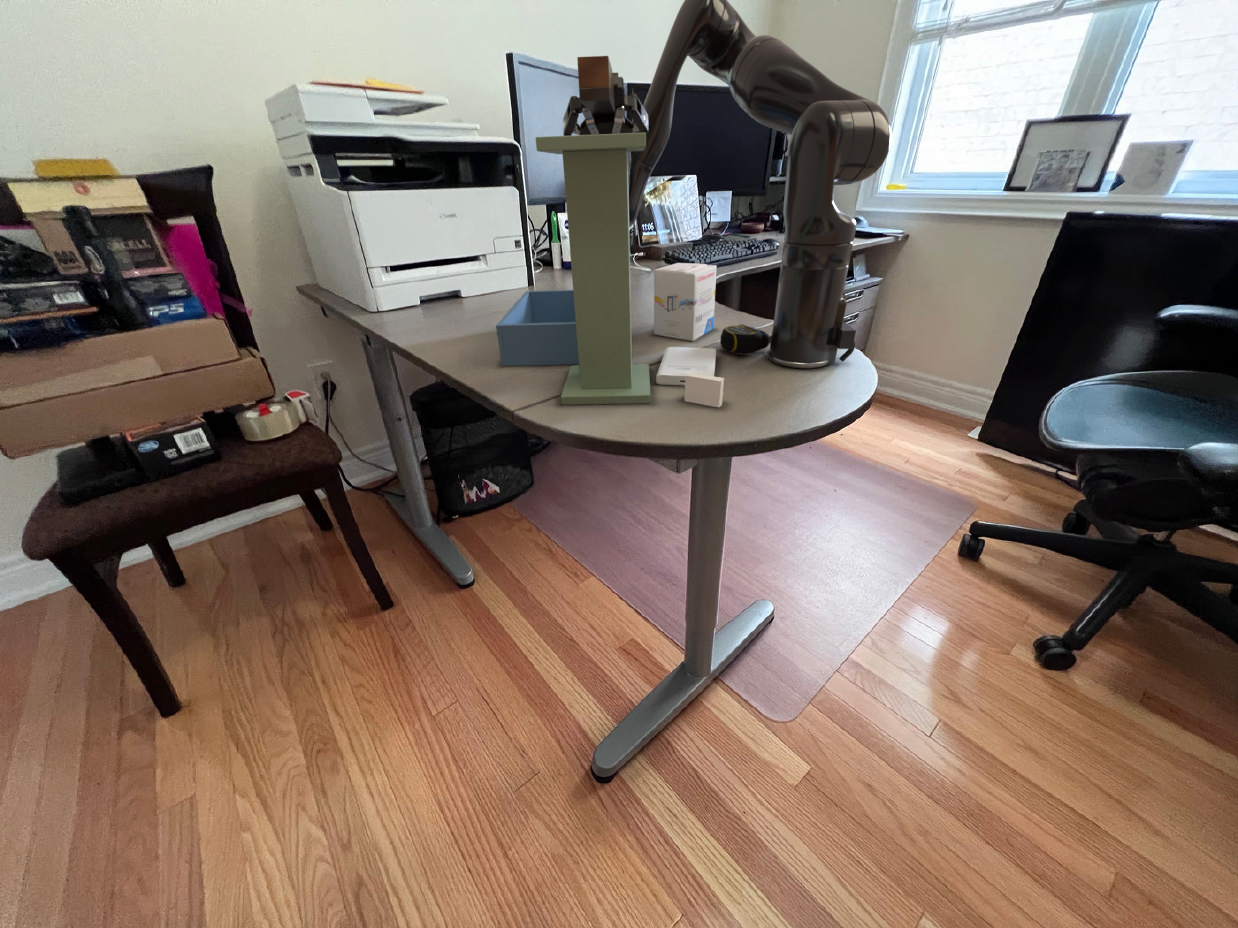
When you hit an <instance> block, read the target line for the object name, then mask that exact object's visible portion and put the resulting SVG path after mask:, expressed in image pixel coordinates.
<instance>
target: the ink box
mask: <svg viewBox="0 0 1238 928" xmlns="http://www.w3.org/2000/svg"><path fill="white" fill-rule="evenodd" d="M653 275H654V276H653V277H654V278H653V280H654V281H653V282H654V284H653V285H654V286H653V291H654V292H653V293H654V294H653V306H654V307H653V309H654V310H653V335H654V336H661V337H666V338H673V339H677V340H684V341H690V342H694V341H695V340H697V339H699V338H701V337H702V336H704V335H705V334H708V333H709V332H711V331H712V330H714V323H715V322H714V321H715V302H716V285H717V265H716V264H715V265H714V264H713V265H710V264H706V263H688V262H676V263H672V264H670V265H666V266H662V267H659V268H656V269H654V270H653Z"/></svg>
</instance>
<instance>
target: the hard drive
mask: <svg viewBox="0 0 1238 928" xmlns="http://www.w3.org/2000/svg"><path fill="white" fill-rule="evenodd" d="M716 360H717V349H716V348H714V347H711V348H710V347H684V346H683V347H682V346H681V347H680V346H668V347H667V346H666V348H665V351H664V353H663V356H662V359H661V362H660V364H659V367H658V370H657V373H656V378H655V383H656V384H657V385H662V386H663V385H664V386H684V387H685V376H686V375H687V374H688V373H695V374H701V375H708V376H714V377H715V371H716V362H717V361H716Z"/></svg>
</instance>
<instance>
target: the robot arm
mask: <svg viewBox="0 0 1238 928" xmlns="http://www.w3.org/2000/svg"><path fill="white" fill-rule="evenodd" d="M688 57H689V58H690V59H691V60H692V61H693V62H694V63H695V64H696V65H697V66H698V67H699V68H700V69H702V70H703V71H704V72H706V73H707V74H710V75H711V76H713V77H715V78H717V79H719V80H720V81H721V82H723V83H725V84H726V85H728V88H729V89H728V90H729V92H730V95H731V97H732V98H733V100H734V101H735V102H736V103H737V105H738V106H739V107H740V108H741V109H742V110H743V111H744V112H745V113H746V114H747V115H748V116H749V117H751V118H752V120H754V121H755V122H757V123H759V124H761V125H763V126H765V127H768V128H770V129H773V130H775V131H778V132H781V133H785V134H788V135H791V136H790V140H789V146H788V152H787V161H786V172H785V173H786V174H785V187H784V198H783V199H784V200H783V213H782V215H783V223H784V238H783V246H782V253H781V260H780V261H781V262H780V263H781V264H780V269H779V277H778V284H777V293H776V298H775V299H776V300H775V308H774V316H773V321H772V323H773V324H772V331H771V335H769V350H768V359H769V360H770V361H771V362H773V363H775V364H778V365H780V366H784V367H787V368H796V369H814V368H815V369H816V368H821V367H824V366H828V365H835V363H836V358H837V353H838V350H846V351H845V352H844V353H843V354H842V355H841V356H840V357H838V360H839V361H841V362H844V361H845V360H847V359H848V358H849V357H850V356H851V355H852V354H853V352H854V351H855V348H856V341H855V337H856V334H857V330H856V329H855V328H854V327H852V326H851V325H849V324H848V323H847V322H844V319H845V315H846V309H847V306H848V305H847V304H848V300H847V299H845V298H844V297H843V296H844V292H845V287H846V282H847V276H848V271H849V266H850V262H851V261H850V260H851V256H852V251H853V246H854V241H855V236H856V231H857V221H856V219H855V218H854V217H853V216H851V215H849V214H847V213H844V212H842V211H841V210H840V209H839V208H838V207H837V206H836V204H835V201H834V192H835V191H834V190H835V186H845V185H852V184H857V183H859V182H862V181H865V180H866V179H868V178H870V177H871V176H873V175H874V174H876V172H878V170H879V169H880V168H881V167H882V166H883V165H884V163H885V161H886V159H887V157H888V155H889V152H890V148H891V145H892V130H891V125H890V120H889V118H888V115H887V113H886V112H885V110H884V109H883V108H882V107H881V106H880V105H879V104H878V103H877V102H875V101H873V100H871V99H868V98H866V97H864V96H862V95H859V94H857V93H856V92H853V91H851V90H849V89H847V88H844V87H842V86H841V85H839V84H837V82H836V83H835V82H834V81H833V80H831V79H830V78H828V76H826V75H825V74H824V72H822V71H820V70H819V69H818V68H817V67H815V66H814V65H813V64H811V63H810V62H808V61H807V60H806V59H805V58H804V57H802V56H801V55H800V54H798V53H797V52H796V51H795V50H794V49H792V48H791V47H790V46H789V45H788V44H786V43H784V42H783V41H781V39H778V38H776V37H774V36H771V35H769V34H761V35H757V36H756V35H755V34H754V32H752V30H751V29H750V28H749V27H748V25H747V24H746V23H745V20H743V18H742V16H741V15H740V14H739V12H738V11H737V10H736V9H735V8H734V6H733V5H732V4H731V3H730V2H729V1H728V0H683V2H682V4H681V6H680V8H679V10H678V12H677V14H676V17H675V19H674V20H673V23H672V27H671V28H670V31H669V34H668V37H667V39H666V42H665V44H664V47H663V50H662V53H661V55H660V58H659V61H658V63H657V66H656V69H655V72H654V75H653V77H652V81H651V84H650V87H649V89H648V92H647V94H646V98H645V100H644V102H643V103H642V101H641V100H640V98H639V96H638V95H637V94H636V93H634V92H631V93H629V94H628V95H627V94H626V92H625V81H624V78H623V76H619V72H613V75H614V99H615V106H616V112H615V114H608V115H595V114H592V113H591V112H590V111H589V110H588V109H587V108H586V107H585V106H584V105H583V104H582V103H581V102H580V96H577V95H571V96H570V98H569V101H568V103H567V107H566V110H565V113H564V116H563V118H562V121H563V122H562V123H563V124H562V126H563V127H562V128H563V136H573V135H597V134H621V133H646V147H645V149H644V151H628V187H629V228H631V227H632V226H633V225H634V224H635V222H636V220H637V218H638V215H639V213H640V208H641V205H642V201H643V197H644V193H645V191H646V187H647V185H648V181H649V179H650V177H651V174H652V173H653V171H654V169H655V167H656V165H657V164H658V162H659V160H660V158H661V157H662V154H663V152H664V150H665V148H666V147H667V144H668V142H669V139H670V136H671V131H672V125H673V114H674V103H675V95H676V89H677V83H678V80H679V76H680V74H681V71H682V68H683V66H684V63H685V62H686V60H687V58H688ZM625 112H628V114H629V116H630V118H631V119H632V121H631V120H630V119H629V118H628V117H626V116H625ZM580 114H582V115H583V117H584V120H583V121H582V122H581V123H580V124H579V123H578V122H579V121H578V120H579V116H580Z"/></svg>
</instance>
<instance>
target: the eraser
mask: <svg viewBox="0 0 1238 928" xmlns="http://www.w3.org/2000/svg"><path fill="white" fill-rule="evenodd" d="M724 386H725V377H719V376H715V375H714V376H708V375H701V374H695V373H688V374H687V375H686V376H685V386H684V400H683V401H684V402H687V403H691V404H692V403H693V404H698V405H703V406H709V407H713V408H719V409H720V407H721V406H722V405H723V397H724V388H725V387H724Z"/></svg>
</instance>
